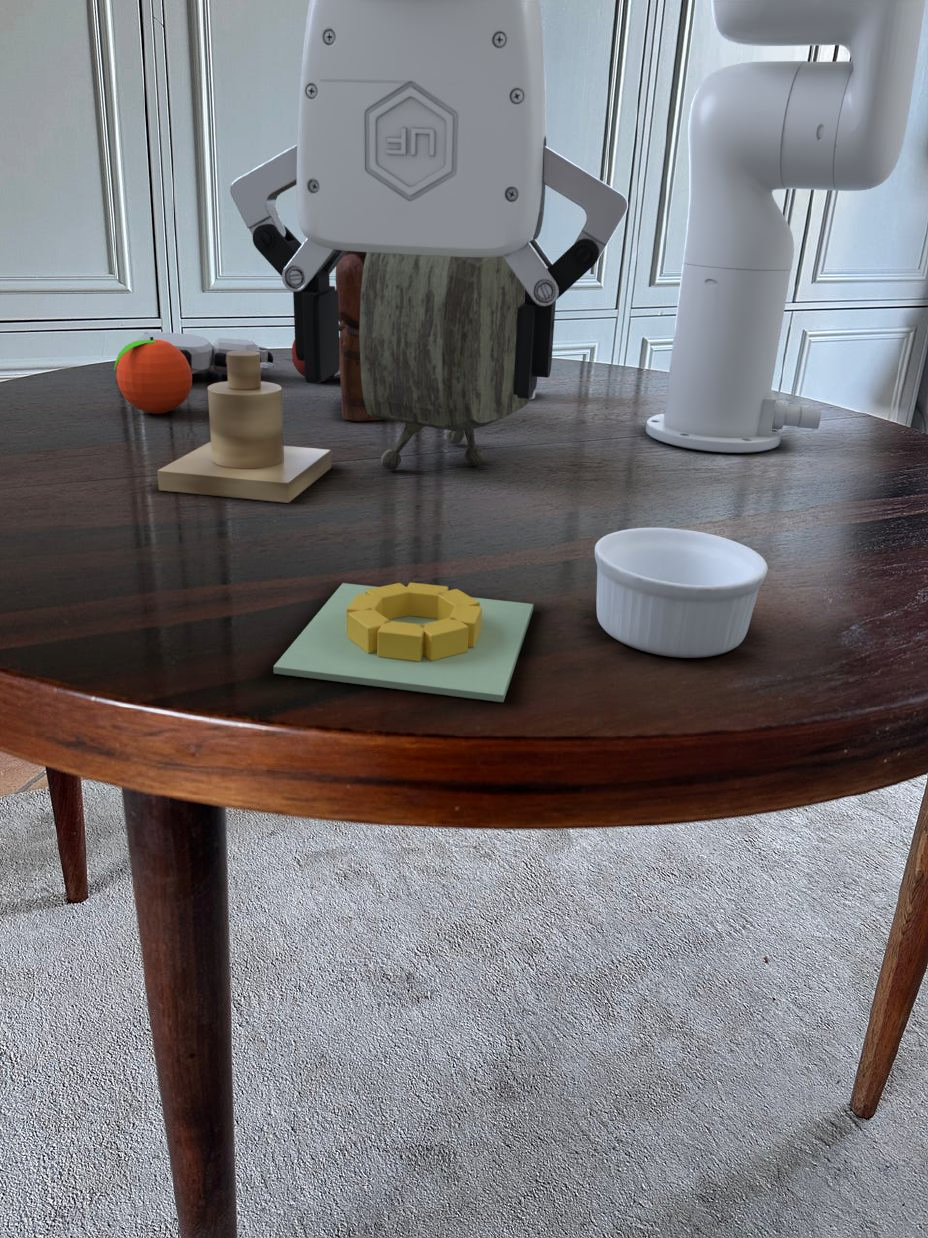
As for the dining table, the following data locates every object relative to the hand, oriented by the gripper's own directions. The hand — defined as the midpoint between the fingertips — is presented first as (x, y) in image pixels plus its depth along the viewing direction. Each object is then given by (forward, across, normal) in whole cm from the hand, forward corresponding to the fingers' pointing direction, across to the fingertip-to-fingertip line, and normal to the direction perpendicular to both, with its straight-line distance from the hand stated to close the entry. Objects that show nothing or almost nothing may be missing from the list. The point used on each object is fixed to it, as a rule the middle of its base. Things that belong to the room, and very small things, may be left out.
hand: (422, 385), depth 46 cm
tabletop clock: (+14, -5, +34) cm, 37 cm away
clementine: (+14, -36, +42) cm, 57 cm away
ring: (+12, 0, 0) cm, 13 cm away
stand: (+13, -19, +24) cm, 34 cm away
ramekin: (+13, +13, +4) cm, 19 cm away
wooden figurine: (+14, -17, +51) cm, 56 cm away
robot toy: (+14, -39, +62) cm, 74 cm away
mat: (+13, 0, -1) cm, 13 cm away
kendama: (+14, -21, +66) cm, 71 cm away
